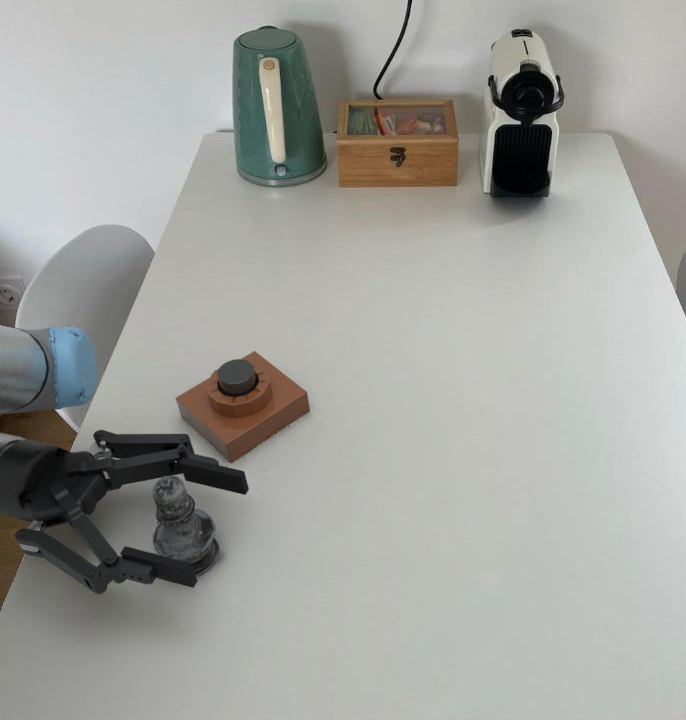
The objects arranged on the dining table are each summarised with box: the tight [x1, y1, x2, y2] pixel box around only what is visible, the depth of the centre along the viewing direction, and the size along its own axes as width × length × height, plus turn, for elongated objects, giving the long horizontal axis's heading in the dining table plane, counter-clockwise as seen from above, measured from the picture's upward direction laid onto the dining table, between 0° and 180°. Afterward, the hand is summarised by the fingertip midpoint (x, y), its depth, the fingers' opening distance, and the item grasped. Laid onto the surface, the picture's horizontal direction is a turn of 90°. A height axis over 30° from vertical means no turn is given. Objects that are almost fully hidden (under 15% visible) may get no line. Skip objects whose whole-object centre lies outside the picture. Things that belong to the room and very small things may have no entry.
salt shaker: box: [151, 475, 220, 578], centre depth 75 cm, size 6×6×12 cm
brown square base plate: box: [175, 350, 311, 463], centre depth 91 cm, size 11×10×5 cm
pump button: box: [217, 358, 257, 397], centre depth 89 cm, size 4×4×2 cm
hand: (220, 527), depth 74 cm, fingers open, 10 cm apart
